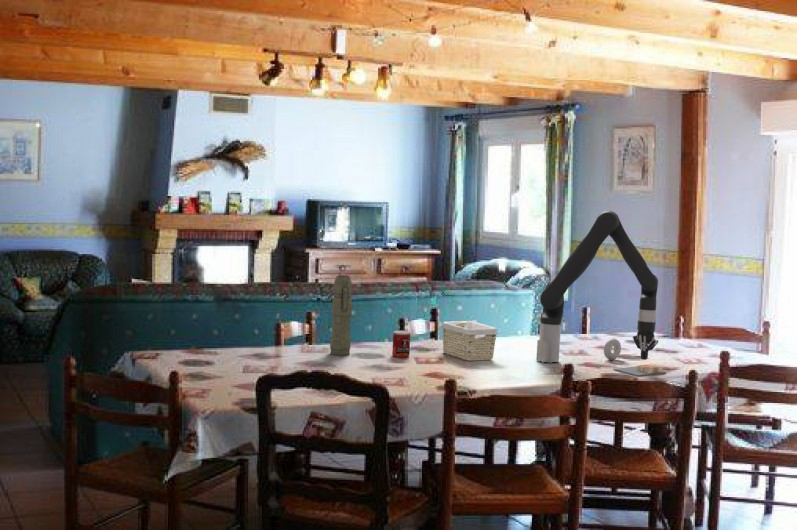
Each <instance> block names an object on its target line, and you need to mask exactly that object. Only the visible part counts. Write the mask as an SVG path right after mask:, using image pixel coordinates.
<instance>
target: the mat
mask: <svg viewBox="0 0 797 530" xmlns="http://www.w3.org/2000/svg"><path fill="white" fill-rule="evenodd" d="M612 370H613V371H614V370H615V372H618V371H619V373H622V372H623V374H627V375H631V376H635V377H644V376H654V375H661V374H662V373H664V374H667V371H665V370H663V372H658V373H649V374H648V373H644V372H640V371H636V366H627V367H619V368H613V369H612Z"/></svg>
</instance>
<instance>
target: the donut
mask: <svg viewBox="0 0 797 530" xmlns="http://www.w3.org/2000/svg"><path fill="white" fill-rule="evenodd" d="M612 348H613V350H612ZM621 352H622V345H621V342H620V341H619V340H618V339H617V338H609V339H608V340H606V342H605V344H604V347H603V355H604V357H605V358H606V359H607V360H609V361H613V360H616V359H618V357H620V354H621Z"/></svg>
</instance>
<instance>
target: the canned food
mask: <svg viewBox="0 0 797 530" xmlns="http://www.w3.org/2000/svg"><path fill="white" fill-rule="evenodd" d="M392 334H393V335H392V352H391V353H392V357H394V358H397V359H407V358H409V357H410V351H411V350H410V347H411V331H409V330H408V331H407V330H394V331H393V333H392Z"/></svg>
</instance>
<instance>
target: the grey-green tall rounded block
mask: <svg viewBox="0 0 797 530" xmlns="http://www.w3.org/2000/svg"><path fill="white" fill-rule="evenodd" d="M333 283H334V284H333V287H334V288H333V293H334V295H333V298H332V301H331V302H332V303H331V316H332V325H331V329H332V330H331V337H330V343H329V346H330V347H329V349H330V353H329V354H330V355H331V356H336V357H340V356H341V357H347V356H350V354H351V353H350V351H351V345H352V344H351V343H352V342H351V341H352V340H351V337H350V335H351V317H352V313H353V312H352V311H353V302H352V286H353V285H352V284H353V282H352V279H351V276H349V275H348V274H338V275H336V277H335V279H334V282H333Z"/></svg>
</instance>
